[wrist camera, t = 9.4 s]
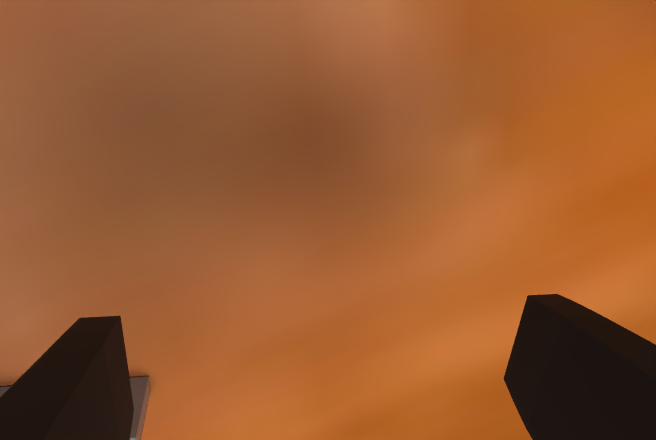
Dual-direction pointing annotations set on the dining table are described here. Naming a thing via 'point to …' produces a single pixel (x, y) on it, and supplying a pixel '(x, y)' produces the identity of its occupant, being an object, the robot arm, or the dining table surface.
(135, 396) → the tray
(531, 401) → the robot arm
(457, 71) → the dining table surface
